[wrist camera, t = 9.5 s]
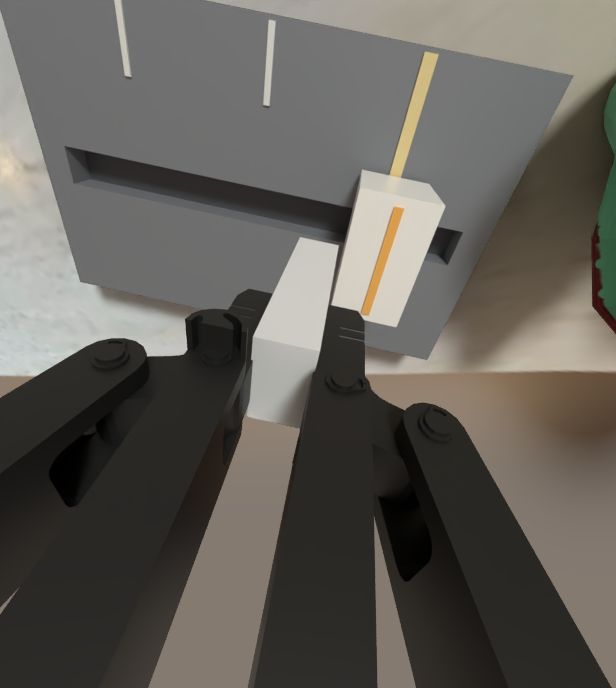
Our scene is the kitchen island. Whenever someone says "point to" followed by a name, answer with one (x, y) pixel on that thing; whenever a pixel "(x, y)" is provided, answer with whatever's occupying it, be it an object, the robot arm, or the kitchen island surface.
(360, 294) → the fader tab
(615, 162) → the mug
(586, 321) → the kitchen island surface
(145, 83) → the console
